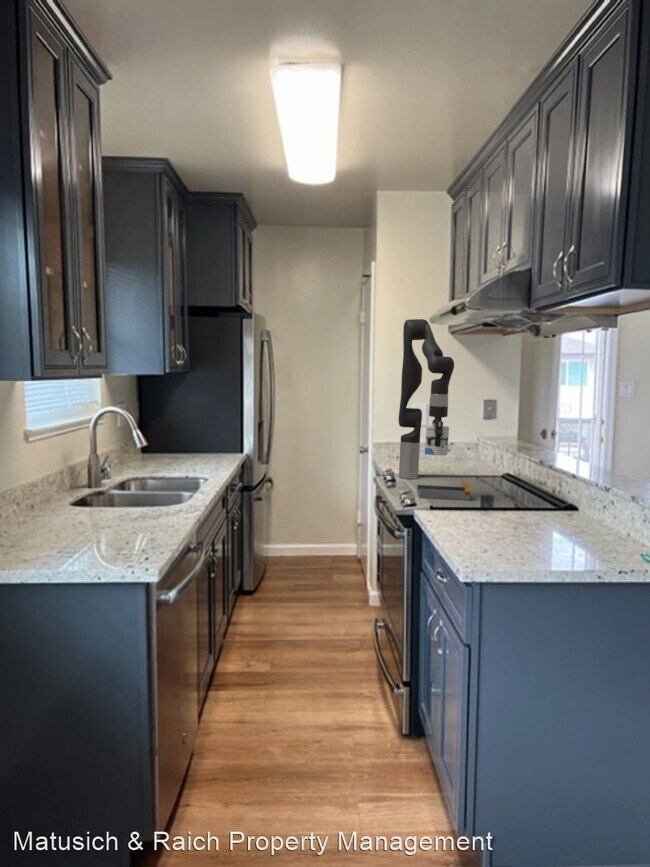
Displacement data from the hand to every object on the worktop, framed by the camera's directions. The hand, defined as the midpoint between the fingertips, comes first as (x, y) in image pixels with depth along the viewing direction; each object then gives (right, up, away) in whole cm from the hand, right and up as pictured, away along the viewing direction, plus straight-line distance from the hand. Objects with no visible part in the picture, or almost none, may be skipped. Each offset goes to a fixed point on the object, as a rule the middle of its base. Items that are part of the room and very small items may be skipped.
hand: (436, 445), depth 247 cm
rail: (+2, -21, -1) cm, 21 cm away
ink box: (0, -4, 0) cm, 4 cm away
